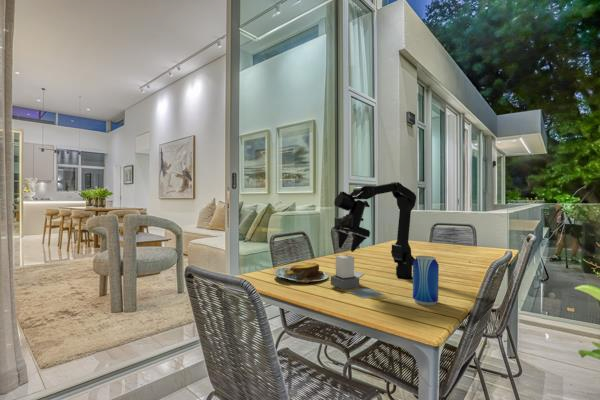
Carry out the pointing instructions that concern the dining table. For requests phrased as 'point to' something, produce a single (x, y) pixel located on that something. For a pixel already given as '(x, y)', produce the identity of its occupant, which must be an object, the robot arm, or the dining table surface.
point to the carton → (346, 281)
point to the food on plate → (301, 273)
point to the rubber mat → (365, 293)
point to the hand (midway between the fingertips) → (345, 249)
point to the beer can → (425, 280)
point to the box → (344, 267)
